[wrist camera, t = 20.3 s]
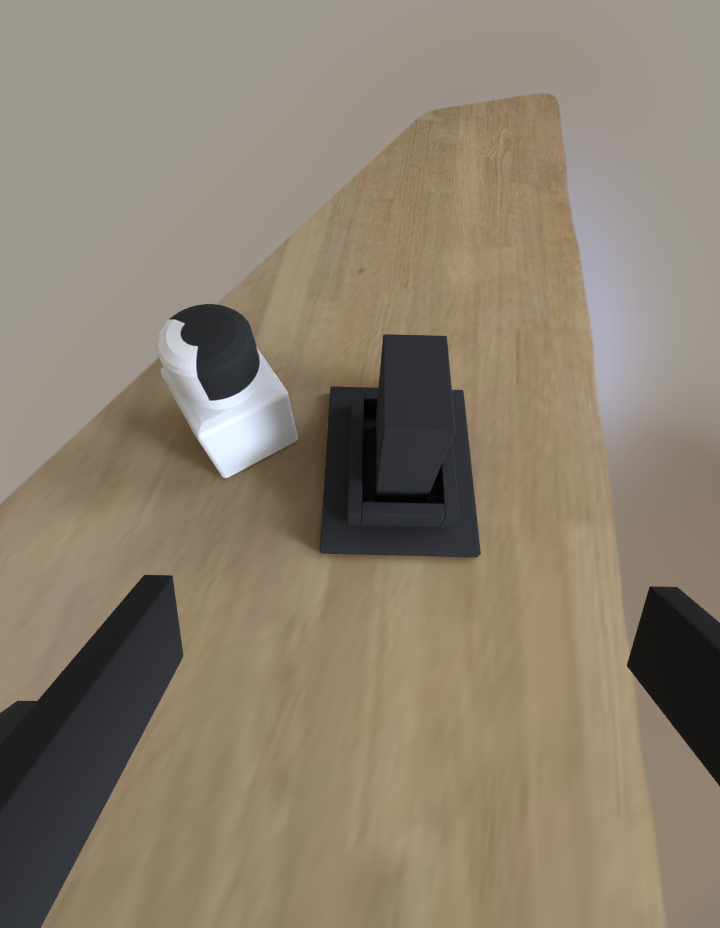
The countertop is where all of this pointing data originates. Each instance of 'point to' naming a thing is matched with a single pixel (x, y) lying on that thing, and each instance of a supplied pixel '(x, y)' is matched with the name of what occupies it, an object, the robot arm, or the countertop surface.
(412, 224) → the countertop surface
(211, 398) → the medicine bottle
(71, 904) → the countertop surface
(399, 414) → the upright block
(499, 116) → the countertop surface
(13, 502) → the countertop surface
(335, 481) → the base pad
